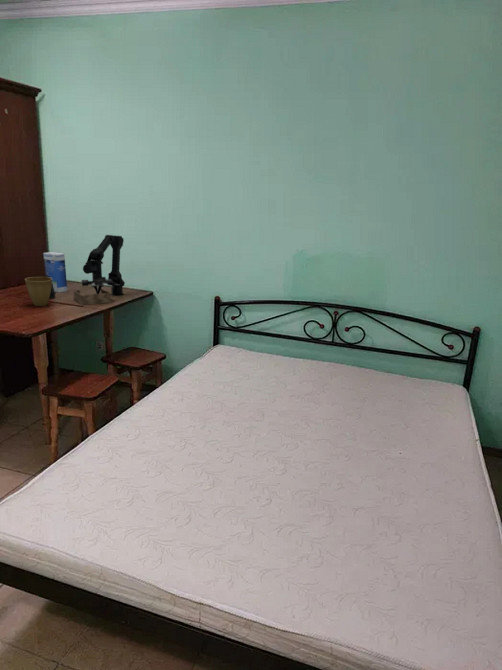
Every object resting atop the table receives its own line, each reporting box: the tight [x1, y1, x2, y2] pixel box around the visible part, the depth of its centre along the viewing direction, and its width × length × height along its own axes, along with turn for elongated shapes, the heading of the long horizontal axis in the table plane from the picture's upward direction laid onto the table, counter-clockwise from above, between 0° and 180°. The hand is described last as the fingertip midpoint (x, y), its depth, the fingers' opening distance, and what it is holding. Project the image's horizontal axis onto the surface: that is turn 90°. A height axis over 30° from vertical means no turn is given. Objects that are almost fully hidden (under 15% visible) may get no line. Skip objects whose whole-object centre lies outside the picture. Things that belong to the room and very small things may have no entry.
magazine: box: [43, 274, 57, 300], centre depth 300 cm, size 4×13×15 cm, turn 92°
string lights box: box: [42, 251, 68, 293], centre depth 319 cm, size 13×8×26 cm, turn 58°
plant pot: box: [24, 276, 52, 307], centre depth 282 cm, size 15×15×16 cm
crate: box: [73, 288, 111, 306], centre depth 298 cm, size 18×16×6 cm
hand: (97, 295), depth 298 cm, fingers closed
